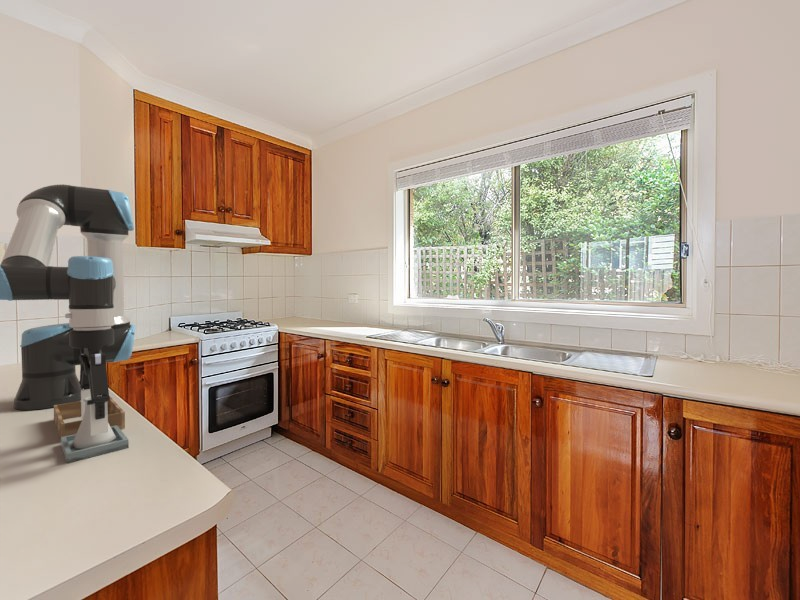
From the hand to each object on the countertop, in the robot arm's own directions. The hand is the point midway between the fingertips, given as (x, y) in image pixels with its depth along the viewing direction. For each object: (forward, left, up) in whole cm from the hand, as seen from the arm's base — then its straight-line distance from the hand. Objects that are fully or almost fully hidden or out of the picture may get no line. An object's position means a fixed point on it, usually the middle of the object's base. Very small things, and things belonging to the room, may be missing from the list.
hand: (94, 425), depth 81 cm
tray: (0, 0, -5) cm, 5 cm away
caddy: (-17, -2, -5) cm, 18 cm away
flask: (0, 0, -4) cm, 4 cm away
